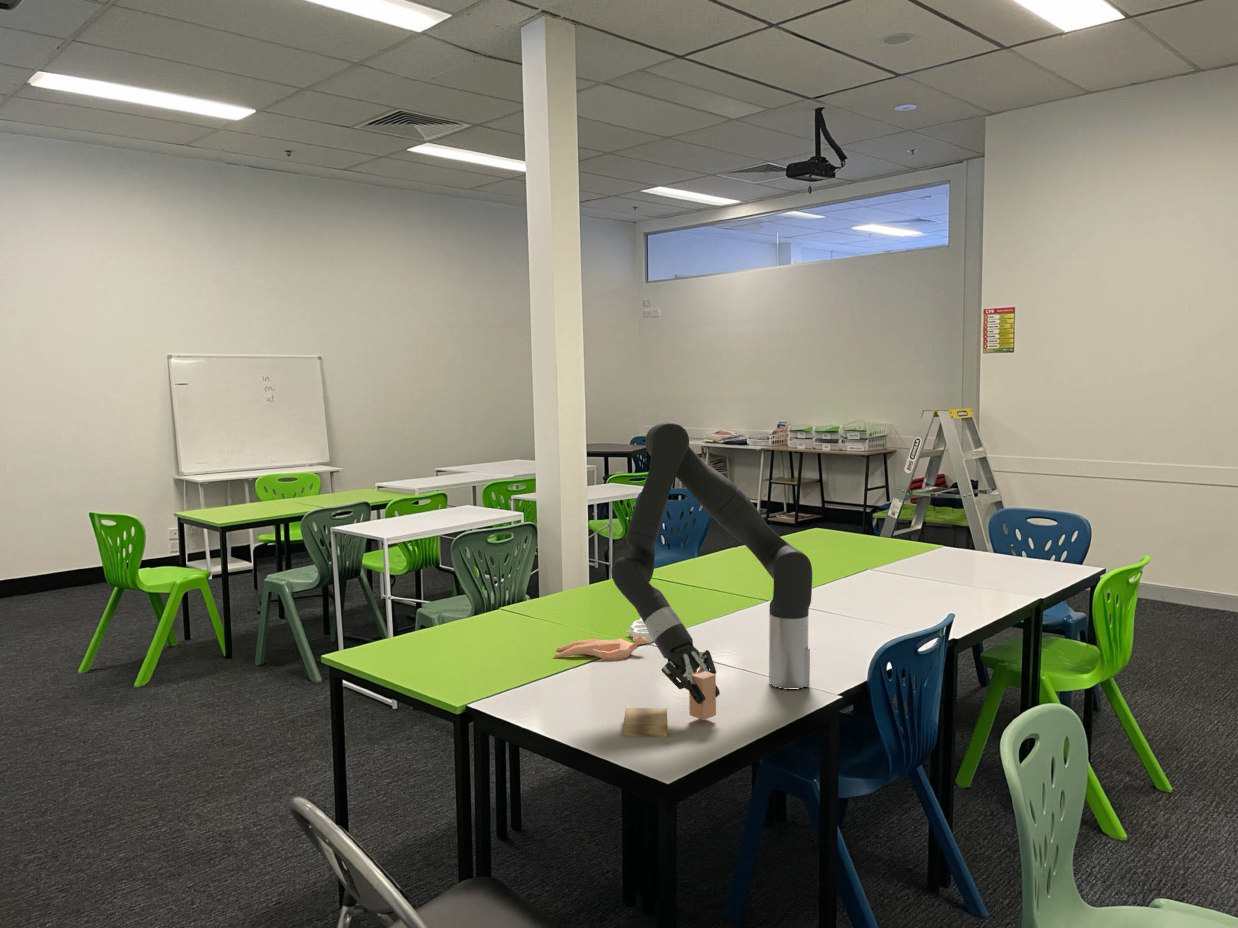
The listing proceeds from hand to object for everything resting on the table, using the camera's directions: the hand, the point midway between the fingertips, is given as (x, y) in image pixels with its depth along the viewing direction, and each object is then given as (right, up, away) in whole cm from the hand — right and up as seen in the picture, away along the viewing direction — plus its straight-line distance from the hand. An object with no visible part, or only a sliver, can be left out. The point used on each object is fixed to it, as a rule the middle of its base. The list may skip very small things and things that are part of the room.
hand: (709, 698), depth 185 cm
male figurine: (-24, -2, +50) cm, 55 cm away
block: (-1, -4, +2) cm, 5 cm away
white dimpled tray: (-10, 0, +68) cm, 69 cm away
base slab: (-14, -6, -2) cm, 15 cm away
